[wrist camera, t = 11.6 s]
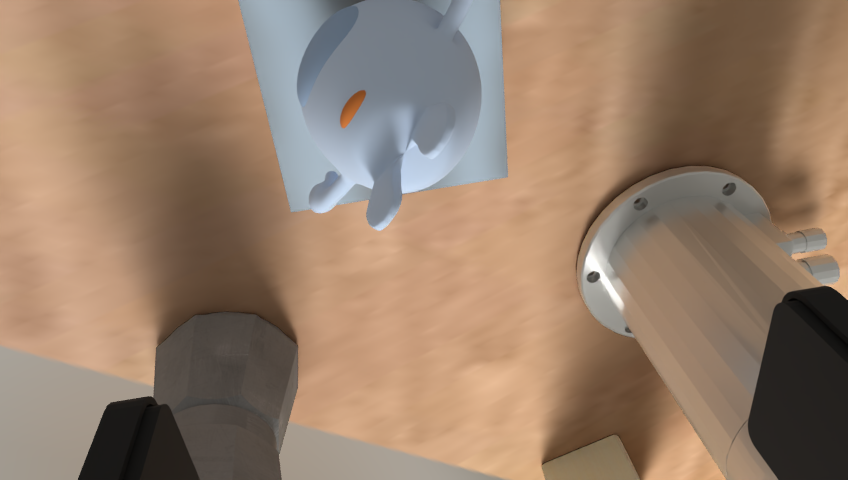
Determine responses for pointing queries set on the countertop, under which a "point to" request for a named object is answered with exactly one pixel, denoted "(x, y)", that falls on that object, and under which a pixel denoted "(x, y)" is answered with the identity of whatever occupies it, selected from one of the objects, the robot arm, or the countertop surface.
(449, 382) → the countertop surface
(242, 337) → the coffeepot
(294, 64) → the silver block
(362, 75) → the toy figure
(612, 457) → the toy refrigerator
